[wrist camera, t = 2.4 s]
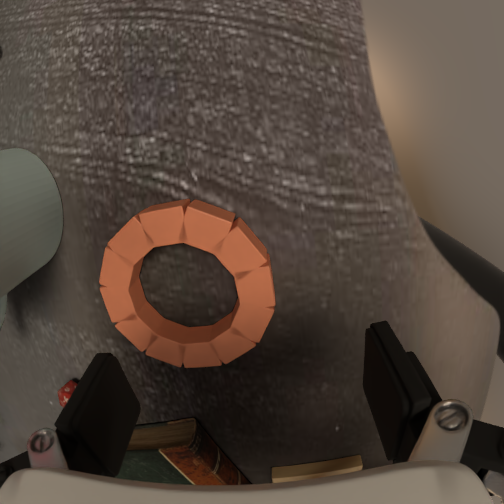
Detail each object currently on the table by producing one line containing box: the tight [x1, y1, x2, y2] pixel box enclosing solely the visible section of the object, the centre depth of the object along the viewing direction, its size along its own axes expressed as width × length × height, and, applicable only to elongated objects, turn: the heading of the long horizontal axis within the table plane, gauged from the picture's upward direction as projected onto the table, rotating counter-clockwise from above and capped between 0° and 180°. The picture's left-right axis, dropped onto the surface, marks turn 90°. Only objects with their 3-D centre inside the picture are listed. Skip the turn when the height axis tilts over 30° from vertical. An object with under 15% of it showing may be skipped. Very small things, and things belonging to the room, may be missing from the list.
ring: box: [99, 199, 276, 368], centre depth 19 cm, size 10×10×2 cm
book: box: [115, 418, 251, 485], centre depth 28 cm, size 17×4×25 cm
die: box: [58, 380, 77, 407], centre depth 23 cm, size 3×3×3 cm
